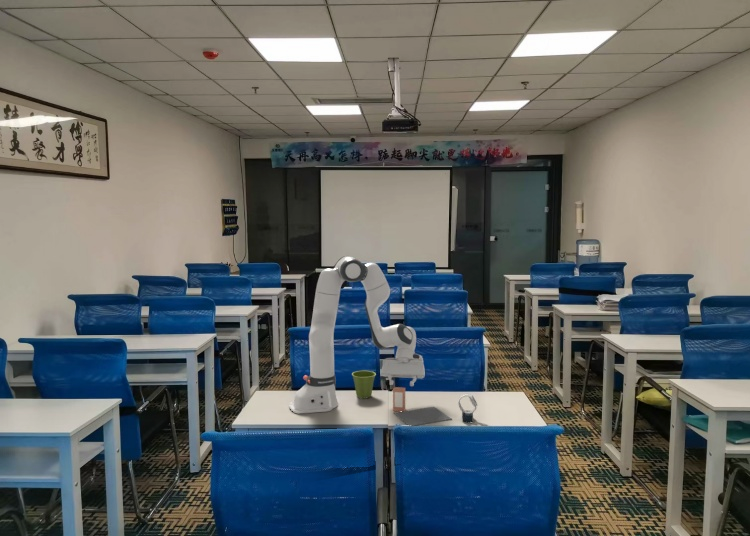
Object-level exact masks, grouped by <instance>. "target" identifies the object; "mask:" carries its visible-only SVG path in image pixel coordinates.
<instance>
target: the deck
mask: <svg viewBox="0 0 750 536" xmlns="http://www.w3.org/2000/svg"><path fill="white" fill-rule="evenodd" d="M392 411H393V412H399V411H406V387H401V386H398V387H397V386H394V387H393V389H392Z"/></svg>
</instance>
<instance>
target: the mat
mask: <svg viewBox="0 0 750 536" xmlns="http://www.w3.org/2000/svg"><path fill="white" fill-rule="evenodd" d="M393 415H395V416H396V417H397V418H399V419H400V420H401V421H402V420H403V421H404V422H405V423H404V424H406V423H407V424H408V425H417V426H420V425H421V426H422V425H428V424H432V423H440V422H445V421H452V418H451V417H450V415H447V414H446V413H444V412H443V411H441V410H440V409H438V408H437V407H436V406H430V407H429V406H428V407H422V408H417V409H411V410H410V409H409V410H405V411H402V412H399V411H395V412H393ZM403 421H402V422H403ZM407 424H406V425H407ZM408 425H407V426H408Z"/></svg>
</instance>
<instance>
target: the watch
mask: <svg viewBox="0 0 750 536" xmlns="http://www.w3.org/2000/svg"><path fill="white" fill-rule="evenodd" d="M465 397H468V398H469V401H470V403H471V405H472V406H473V407H474V408H473V409H472V410H465V409H464V408H463V407H462V404H461V400H462V398H465ZM457 404H458V407H459V409H460V411H461V419H462V420H461V422H462V423H468V422H469V423H470V422H473V423H474V413H475V412H476V410H477V407H478V403H477V400H476V399H475V397H474V396H473V395H471V394H469V393H464V394H462V395H461V396H459V398H458V403H457Z"/></svg>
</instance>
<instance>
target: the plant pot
mask: <svg viewBox="0 0 750 536" xmlns="http://www.w3.org/2000/svg"><path fill="white" fill-rule="evenodd" d="M376 373H377V372H374V371H373V370H371V371H370V370H356V371H353V372H352V373H351V376H352V379H353V383H354V389H355V394H356V397H357V398H358V399H368V398H371V397H372V393H373V389H374V381H375V377H376V375H377V374H376Z"/></svg>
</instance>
